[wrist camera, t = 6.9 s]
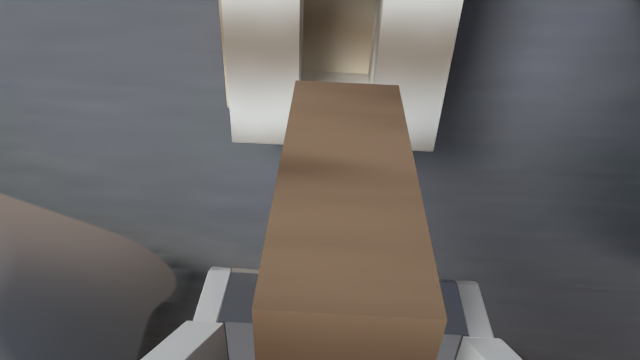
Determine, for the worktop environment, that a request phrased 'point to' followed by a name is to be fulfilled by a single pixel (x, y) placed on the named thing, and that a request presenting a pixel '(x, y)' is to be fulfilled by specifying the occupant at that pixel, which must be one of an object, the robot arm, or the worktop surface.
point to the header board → (335, 57)
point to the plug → (347, 235)
